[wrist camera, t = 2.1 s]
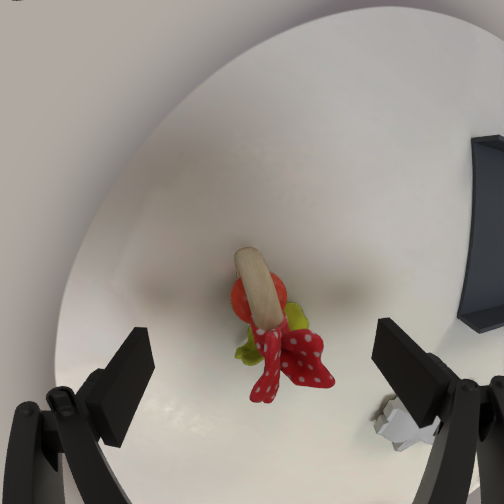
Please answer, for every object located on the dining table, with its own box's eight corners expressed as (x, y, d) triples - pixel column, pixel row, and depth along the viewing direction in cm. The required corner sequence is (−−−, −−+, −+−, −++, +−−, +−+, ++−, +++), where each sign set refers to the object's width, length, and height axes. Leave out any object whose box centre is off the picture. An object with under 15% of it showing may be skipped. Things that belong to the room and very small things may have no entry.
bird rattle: (210, 275, 24) (245, 378, 22) (154, 253, 13) (217, 437, 11) (282, 250, 24) (319, 355, 22) (284, 206, 13) (350, 398, 11)
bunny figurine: (412, 397, 21) (500, 396, 20) (395, 368, 26) (481, 375, 25) (367, 460, 23) (459, 452, 22) (359, 430, 28) (446, 429, 27)
